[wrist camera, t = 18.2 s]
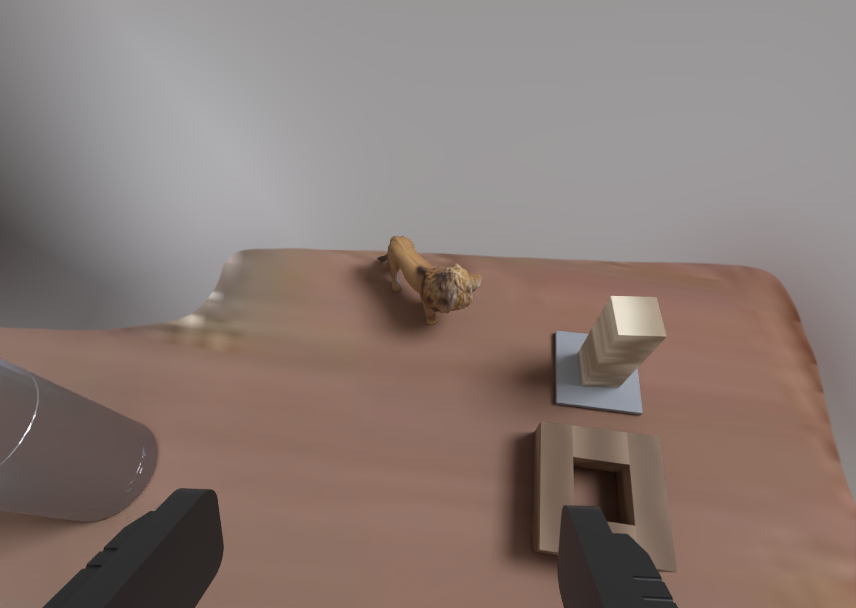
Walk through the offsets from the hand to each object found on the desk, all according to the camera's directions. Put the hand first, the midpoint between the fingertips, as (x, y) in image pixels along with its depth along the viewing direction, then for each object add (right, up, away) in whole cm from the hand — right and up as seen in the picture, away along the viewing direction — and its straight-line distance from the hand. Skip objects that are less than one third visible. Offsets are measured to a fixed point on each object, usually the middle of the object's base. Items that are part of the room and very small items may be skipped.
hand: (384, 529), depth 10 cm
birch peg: (+18, -2, +33) cm, 38 cm away
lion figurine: (+1, +6, +40) cm, 41 cm away
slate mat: (+18, -2, +34) cm, 39 cm away
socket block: (+15, -12, +28) cm, 34 cm away
